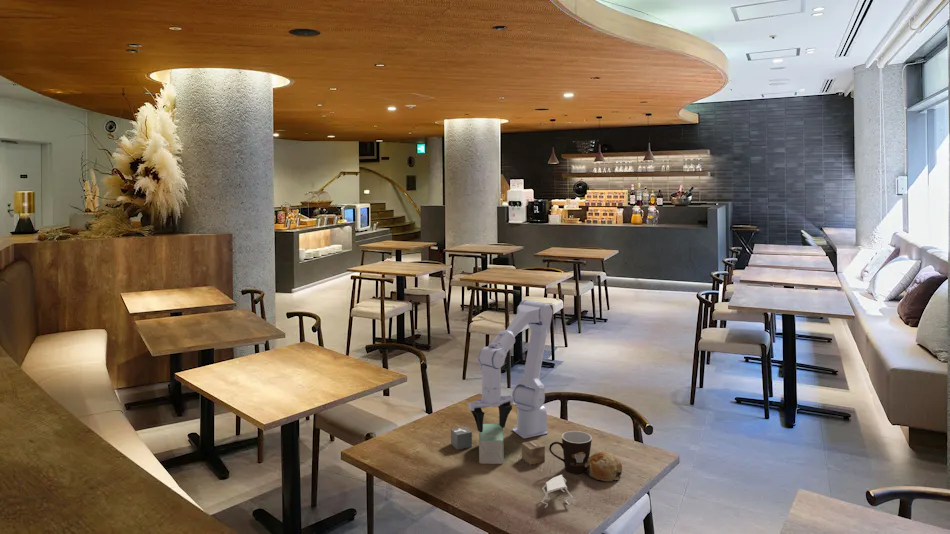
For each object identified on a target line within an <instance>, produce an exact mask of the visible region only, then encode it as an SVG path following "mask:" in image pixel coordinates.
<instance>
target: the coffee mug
mask: <svg viewBox="0 0 950 534" xmlns="http://www.w3.org/2000/svg"><path fill="white" fill-rule="evenodd" d="M561 440H562V441H561V442H560V441H554V442H552V443H550V445H549V447H548V449H549V452H550V453H551V455H552V456H554V457H555V458H557V459H558V460H560V461H562V462H563V463H564V470H565V472H567V473H569V474H571V475H576V476H579V475H580V474H581V475H585V474H586V473H587V470H586V468H585V464H586V463H587V460H588V458H589V457H590V456H591V455H590V453H591V448H592V440H593V438H592V435H591V434H589V433H588V432H585V431H580V430H569V431H565V432H563V433H562V434H561ZM554 445H559V446H560V447H561V449H562V452H563V458H562V457H560V456H559V455H557V454H555V453H554V451H552V447H553V446H554ZM584 473H585V474H584Z"/></svg>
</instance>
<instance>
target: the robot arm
mask: <svg viewBox="0 0 950 534" xmlns="http://www.w3.org/2000/svg"><path fill="white" fill-rule="evenodd" d="M553 313H554V311H553V309H552V306H551V304H549V303H548V302H539V301H532V300H528V299H523V300H521V301H520V302H519V305H518V306H517V307H516V315H515V316H514V317H513V320H511V322H510V324H509V325H508V326H507V328H506V330H500V331H499V333H498V334H496V336H495V338H493V340H492V341H491V342H490V343H489V344H488V346H484V347H483V348H481V349H480V350H479V352H478V357H477V362H478V364H479V369H480V371H481V398H480V399H478V400H475V401H471V402H468V410H469V411H470V413H472V416H473V417H474V421H475V424H476V429H477V432H483V424H484V418H485V412H483V410H482V409H484V408H485V409H486V408H490V407H494V408H496V407H497V408H498V414H499V416H498V418H499V420H498V421H499V422H498V424H500V426H501V427H502V428H503V429H505V427H506V423H507V420H508V418H509V415H510V413H511V411H512V409H513V405H512V404H514V406H515V407H517V410H516V411H517V412H516V414H517V415H516V420H517V421H516V423H517V424H516V427H514V428H512V429H511V431H513V432H514V433H515V434H517V435H518V436H519V437H521V438H522V439H528V438H534V437H537V436H543V435H546V434H547V435H548V433H549V432H548V431H547V430H548V414H547V413H548V412H547V409H546V407H545V406H544V404H545V400H546V396H545V395H546V394H545V392H546V390H545V389H546V387H545V385H544V383H543V382H541V380H540V374H541V369H542V364H543V358H544V351H545V347H546V342H547V335H548V330H549V329H550V328H551V323H552V317H553ZM527 325H528V326H529V328H530V330H531V331H530V337H529V343H528V347H527V353H526V360H525V364H524V369H523V374H522V375H523V376H522V377H520V378H519V379H517V380H515V386H514V388H513V389H512V391H511V395H501V393H502V392H501V389H502V388H501V387H502V386H501V385H502V384H501V383H502V381H501V380H502V379H501V378H502V377H501V371H502V370H501V368H502V366H503V365H504V364H505V361H506V358H507V355H508V352H509V351H510V350H511V348H512V347H513V346H514V344H515V343H516V338H515V337H516V336H518V334H520V332H521V331H522V330H523V329H524V328H525V327H526V326H527Z"/></svg>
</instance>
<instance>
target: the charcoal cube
mask: <svg viewBox="0 0 950 534" xmlns="http://www.w3.org/2000/svg"><path fill="white" fill-rule="evenodd" d="M472 434H473V433H472V431H471V430H470V429H469V428H468V427H466V426H461V427H456V428H451V429H450V445H451V446H453V448H454V449H456V450H457V451H459V449H460V450H463V448H465V449H467V448H472V447H473V446H472V445H473V435H472Z"/></svg>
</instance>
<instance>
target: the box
mask: <svg viewBox="0 0 950 534" xmlns="http://www.w3.org/2000/svg"><path fill="white" fill-rule="evenodd" d="M478 432H479V431H478ZM478 436H479V438H478V462H479V464H482V465H483V464H484V465H486V464H487V465H490V464H491V465H501V464H504V460H505V459H504V452H505V451H504V449H505V448H504V428H502V427H501V426H500V424H499V423H483V432H479V434H478Z"/></svg>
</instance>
